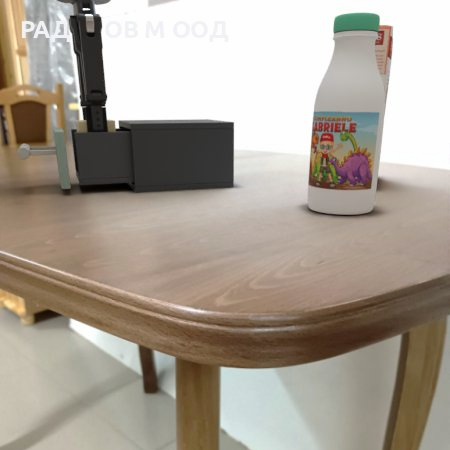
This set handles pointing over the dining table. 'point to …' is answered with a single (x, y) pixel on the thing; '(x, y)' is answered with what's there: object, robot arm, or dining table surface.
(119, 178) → the drawer
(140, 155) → the dark grey box
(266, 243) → the dining table surface
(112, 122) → the block
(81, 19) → the robot arm
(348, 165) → the milk bottle
